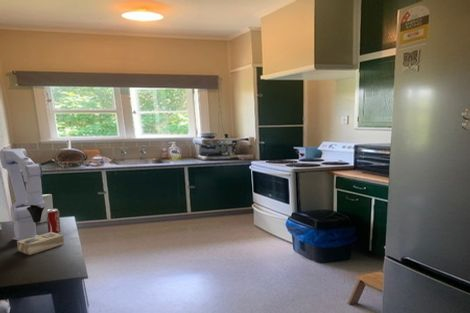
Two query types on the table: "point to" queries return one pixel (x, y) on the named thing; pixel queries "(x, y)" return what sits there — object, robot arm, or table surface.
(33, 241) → the peg
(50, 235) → the peg
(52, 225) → the soda can
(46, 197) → the skincare box
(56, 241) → the peg board
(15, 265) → the table surface
